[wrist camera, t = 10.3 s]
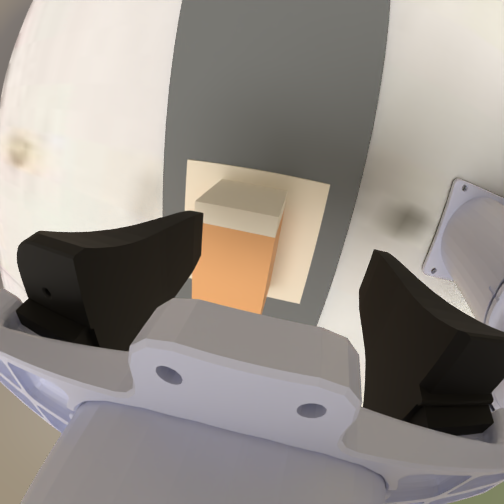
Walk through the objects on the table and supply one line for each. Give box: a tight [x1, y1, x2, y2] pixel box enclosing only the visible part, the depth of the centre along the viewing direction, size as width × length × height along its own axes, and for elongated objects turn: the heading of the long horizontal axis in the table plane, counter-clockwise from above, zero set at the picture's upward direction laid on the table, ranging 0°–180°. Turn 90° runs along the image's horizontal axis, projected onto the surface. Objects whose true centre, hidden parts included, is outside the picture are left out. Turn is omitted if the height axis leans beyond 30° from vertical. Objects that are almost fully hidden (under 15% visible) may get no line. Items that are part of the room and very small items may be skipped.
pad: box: [185, 159, 330, 304], centre depth 22 cm, size 10×10×1 cm
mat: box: [163, 0, 390, 326], centre depth 18 cm, size 14×32×1 cm, turn 172°
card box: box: [192, 179, 288, 315], centre depth 19 cm, size 8×5×5 cm, turn 172°
